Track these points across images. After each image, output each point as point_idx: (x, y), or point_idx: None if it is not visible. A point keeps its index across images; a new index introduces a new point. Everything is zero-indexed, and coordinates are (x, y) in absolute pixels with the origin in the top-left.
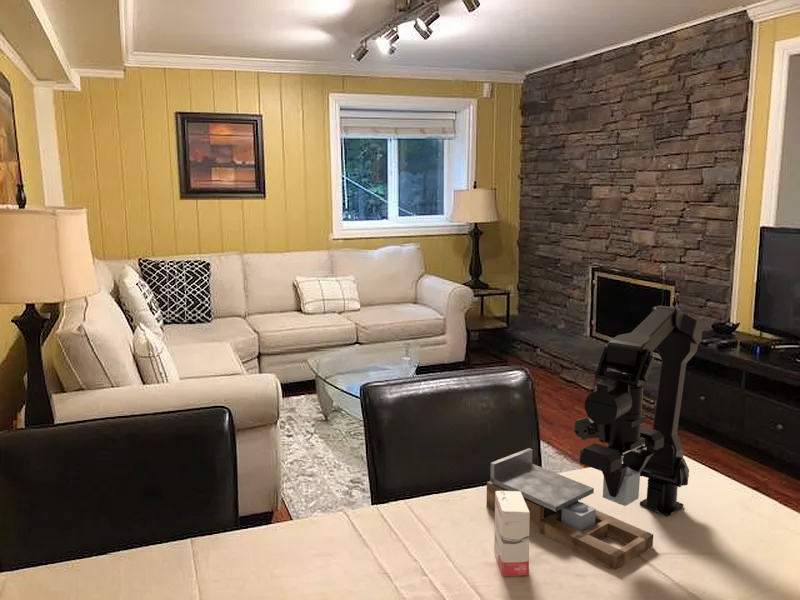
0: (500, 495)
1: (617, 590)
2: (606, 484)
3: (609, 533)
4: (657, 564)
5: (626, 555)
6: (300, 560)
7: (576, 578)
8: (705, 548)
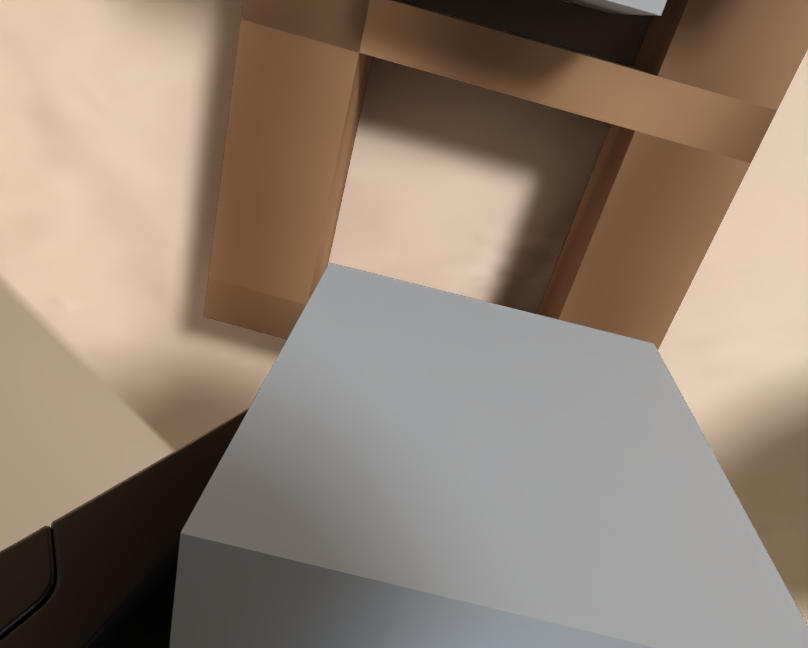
0: None
1: (84, 335)
2: (140, 471)
3: (612, 132)
4: None
5: None
6: None
7: (11, 125)
8: None
